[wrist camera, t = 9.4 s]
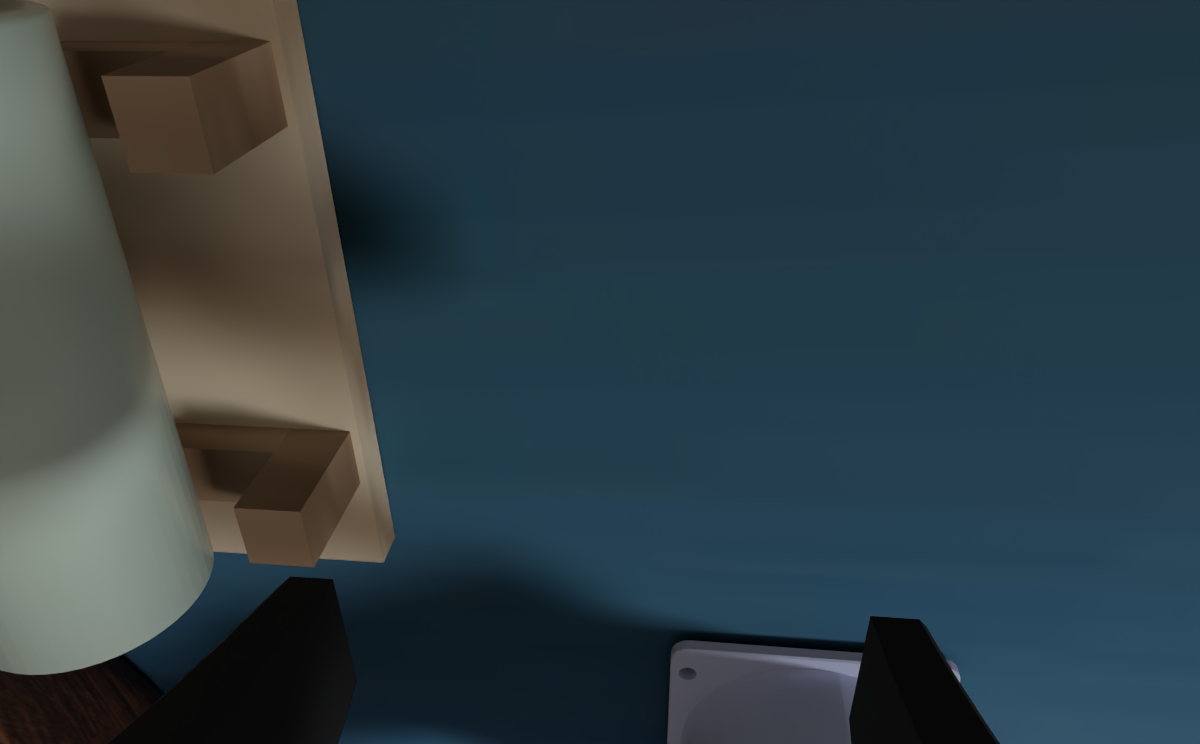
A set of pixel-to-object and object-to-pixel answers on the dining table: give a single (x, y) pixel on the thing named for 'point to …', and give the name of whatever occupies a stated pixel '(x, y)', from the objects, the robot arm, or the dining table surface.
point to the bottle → (77, 395)
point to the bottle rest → (236, 265)
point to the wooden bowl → (73, 704)
